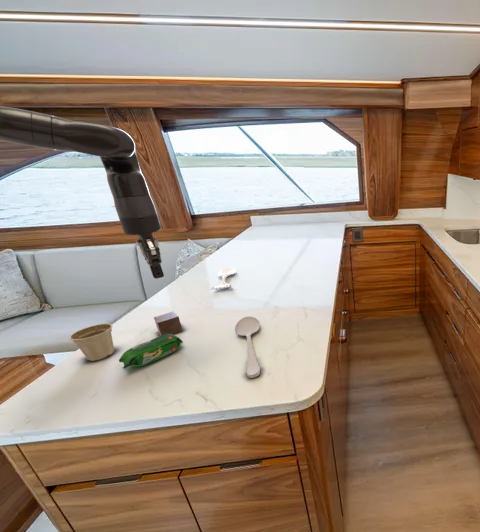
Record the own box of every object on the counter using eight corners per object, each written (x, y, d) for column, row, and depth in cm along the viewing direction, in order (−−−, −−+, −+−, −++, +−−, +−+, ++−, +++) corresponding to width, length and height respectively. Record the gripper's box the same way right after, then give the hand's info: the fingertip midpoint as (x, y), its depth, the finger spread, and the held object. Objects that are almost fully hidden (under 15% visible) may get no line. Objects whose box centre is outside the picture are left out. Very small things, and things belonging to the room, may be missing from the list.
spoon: (235, 325, 108) (233, 319, 107) (259, 319, 112) (257, 313, 111) (239, 387, 80) (237, 379, 79) (270, 376, 83) (269, 369, 82)
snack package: (117, 368, 87) (111, 353, 85) (177, 341, 99) (173, 328, 97) (127, 376, 83) (121, 361, 81) (188, 347, 96) (184, 333, 94)
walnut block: (162, 338, 101) (157, 322, 99) (158, 332, 105) (153, 317, 103) (182, 331, 106) (178, 316, 104) (178, 325, 109) (174, 311, 107)
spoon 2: (211, 294, 135) (209, 287, 134) (219, 273, 163) (217, 267, 162) (233, 291, 139) (231, 284, 138) (237, 270, 167) (236, 264, 165)
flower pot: (76, 357, 92) (65, 333, 89) (116, 343, 99) (107, 320, 96) (83, 368, 87) (72, 343, 84) (125, 352, 94) (116, 328, 91)
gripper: (115, 213, 77) (137, 275, 83) (121, 219, 68) (145, 287, 74) (151, 209, 82) (170, 268, 88) (161, 214, 74) (181, 278, 79)
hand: (158, 277), depth 81 cm, fingers closed
